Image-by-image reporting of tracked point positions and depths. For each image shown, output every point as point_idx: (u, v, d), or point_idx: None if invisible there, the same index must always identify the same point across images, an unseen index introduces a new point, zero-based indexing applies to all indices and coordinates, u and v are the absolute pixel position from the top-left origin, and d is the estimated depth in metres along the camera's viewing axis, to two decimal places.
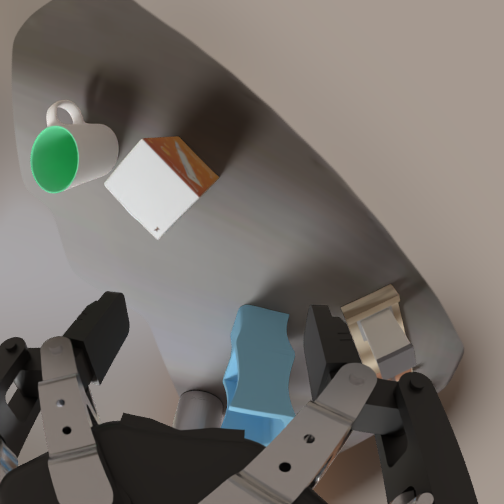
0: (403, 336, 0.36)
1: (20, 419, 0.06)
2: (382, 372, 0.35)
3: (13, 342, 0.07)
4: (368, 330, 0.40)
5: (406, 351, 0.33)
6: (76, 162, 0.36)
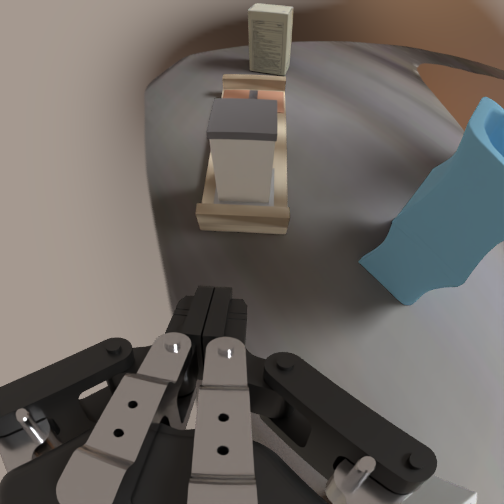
0: (215, 154, 0.23)
1: (93, 417, 0.07)
2: (274, 115, 0.21)
3: (118, 344, 0.08)
4: (264, 186, 0.27)
5: (221, 129, 0.21)
6: None
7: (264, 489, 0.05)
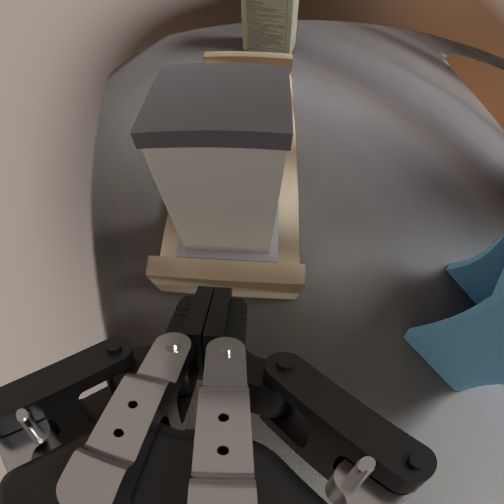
0: (161, 178, 0.11)
1: (93, 417, 0.07)
2: (284, 92, 0.09)
3: (119, 344, 0.08)
4: (261, 231, 0.15)
5: (162, 126, 0.09)
6: None
7: (264, 489, 0.05)
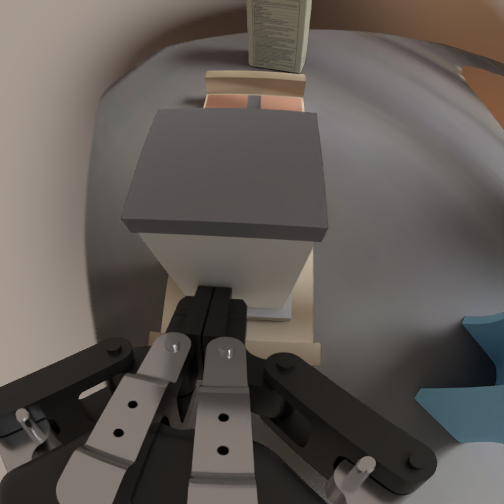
0: (163, 255, 0.10)
1: (93, 417, 0.07)
2: (314, 158, 0.08)
3: (118, 344, 0.08)
4: (276, 295, 0.13)
5: (160, 210, 0.07)
6: None
7: (264, 489, 0.05)
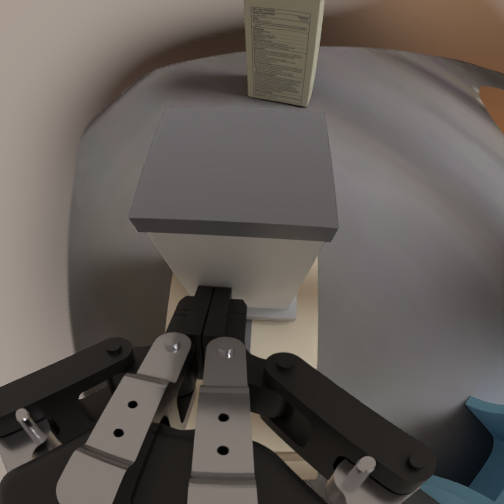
0: (170, 255, 0.10)
1: (93, 416, 0.07)
2: (323, 158, 0.08)
3: (118, 344, 0.08)
4: (281, 295, 0.13)
5: (169, 210, 0.07)
6: None
7: (264, 489, 0.05)
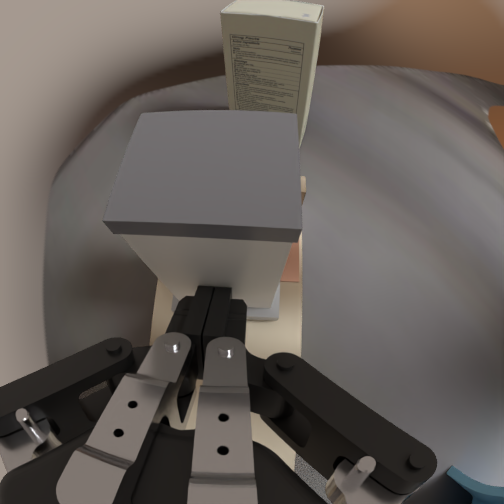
0: (147, 256, 0.10)
1: (93, 417, 0.07)
2: (291, 159, 0.08)
3: (118, 344, 0.08)
4: (261, 295, 0.14)
5: (139, 213, 0.07)
6: None
7: (264, 489, 0.05)
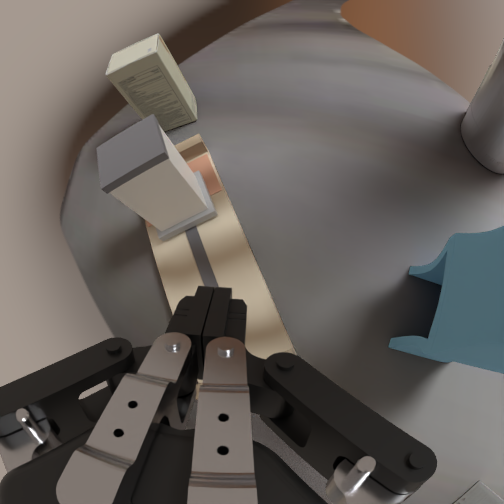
0: (125, 200, 0.21)
1: (93, 417, 0.07)
2: (155, 132, 0.19)
3: (118, 344, 0.08)
4: (191, 198, 0.25)
5: (112, 178, 0.18)
6: None
7: (264, 489, 0.05)
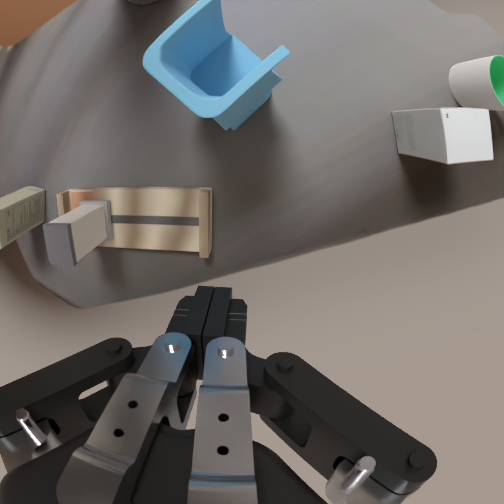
0: (83, 254, 0.34)
1: (93, 417, 0.07)
2: (54, 226, 0.29)
3: (118, 344, 0.08)
4: (94, 214, 0.36)
5: (70, 258, 0.31)
6: None
7: (264, 489, 0.05)
